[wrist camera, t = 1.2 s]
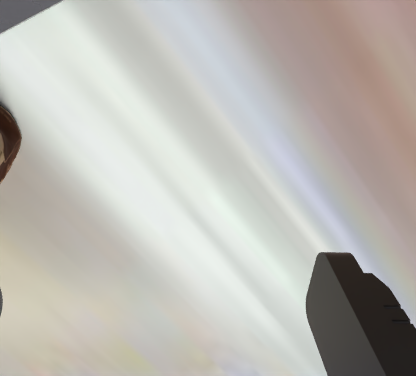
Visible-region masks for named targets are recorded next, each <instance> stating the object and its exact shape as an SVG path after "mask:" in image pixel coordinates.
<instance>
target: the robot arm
mask: <svg viewBox="0 0 416 376" xmlns="http://www.w3.org/2000/svg"><path fill="white" fill-rule="evenodd" d="M2 303H3V299H2V293H1V289H0V315H1V311H2ZM400 306H401V305H400V304H399V302H398V301H397V299H396V298H395V296H394V295H393V293H392V291H391V290H390V288H389V287H387V286H386V285H385V284H384V283H383V282H381V281H380V280H379V279H378V278H377V277H376V276H374V275H373V274H372V273H363V271H362V269H361V268H360V266H359V264H358V263H357V261H356V259H355V258H354V256H353V255H352V254H351V253H335V252H321V253H319V254H318V255H317V258H316V261H315V265H314V269H313V273H312V277H311V280H310V284H309V288H308V292H307V296H306V314H307V319H308V322H309V325H310V328H311V331H312V333H313V336H314V339H315V342H316V344H317V347H318V350H319V353H320V355H321V358H322V361H323V364H324V367H325V369H326V372H327V375H328V376H416V328H415V327H414V325H413V324H410V319H409V318H408V316H407V315H406V313H405V312H404V310H403V309H401V307H400Z"/></svg>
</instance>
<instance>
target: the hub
mask: <svg viewBox="0 0 416 376" xmlns="http://www.w3.org/2000/svg"><path fill="white" fill-rule="evenodd" d="M62 1H64V0H0V34H2V33H4V32H6V31H7V30H9V29H11V28H13V27H15V26H17V25H19V24H21V23H22V22H24V21H26V20H28V19H30V18H32V17H34V16H36V15H37V14H39V13H41V12H43V11H45V10H47V9H49V8H51V7H52V6H54V5H56V4H58V3H60V2H62Z"/></svg>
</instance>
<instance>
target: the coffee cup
mask: <svg viewBox="0 0 416 376" xmlns="http://www.w3.org/2000/svg"><path fill="white" fill-rule="evenodd" d="M21 139H22V137H21V133H20V130H19V128H18V126H17V124H16V122H15V120H14V119H13V117H12V116H11V115H10V113H9V112H7V111H6V110H5V109H4V108H3V107H1V106H0V184H1V182H2V181H3V179H4V178H5V176H6V174H7V173H8V171H9V169H10V168H11V166H12V163H13V161H14V159H15V157H16V155H17V153H18V151H19V148H20V145H21Z"/></svg>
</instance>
